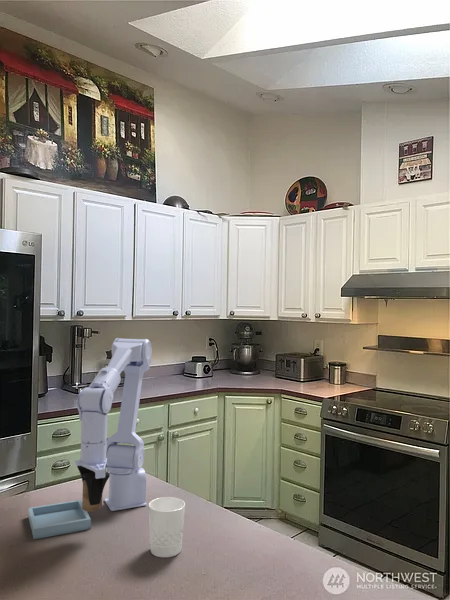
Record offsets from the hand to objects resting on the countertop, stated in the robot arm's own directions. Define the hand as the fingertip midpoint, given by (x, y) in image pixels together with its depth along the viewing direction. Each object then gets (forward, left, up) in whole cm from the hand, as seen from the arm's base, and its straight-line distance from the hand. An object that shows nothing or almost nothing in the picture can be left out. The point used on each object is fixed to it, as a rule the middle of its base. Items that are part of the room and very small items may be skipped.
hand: (92, 500), depth 111 cm
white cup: (-13, +13, -9) cm, 20 cm away
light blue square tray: (+6, -10, -8) cm, 14 cm away
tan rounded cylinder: (0, 0, -2) cm, 2 cm away
